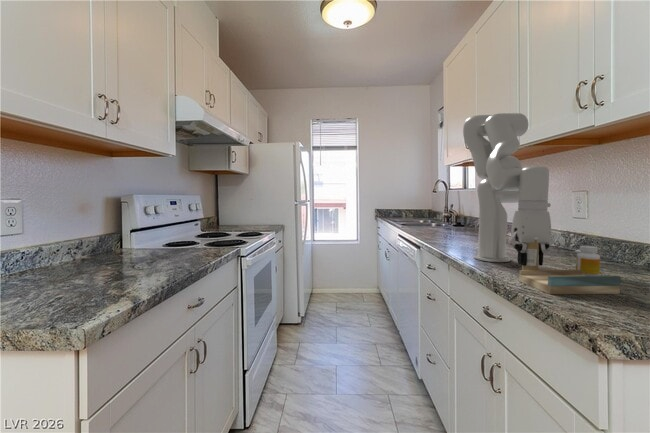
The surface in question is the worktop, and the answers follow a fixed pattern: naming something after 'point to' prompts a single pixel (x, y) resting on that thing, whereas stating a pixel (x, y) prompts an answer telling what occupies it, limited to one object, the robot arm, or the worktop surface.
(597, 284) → the shelf board
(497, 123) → the robot arm
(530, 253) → the sprinkles bottle
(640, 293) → the worktop surface
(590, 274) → the supplement bottle
